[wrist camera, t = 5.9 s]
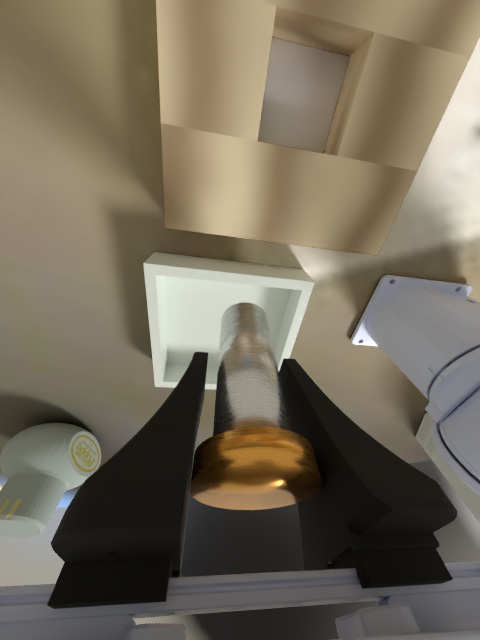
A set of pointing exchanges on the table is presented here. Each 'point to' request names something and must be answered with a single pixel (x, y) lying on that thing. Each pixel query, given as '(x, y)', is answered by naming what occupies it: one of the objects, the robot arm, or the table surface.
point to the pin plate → (347, 126)
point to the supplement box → (447, 467)
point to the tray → (215, 308)
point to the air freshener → (42, 474)
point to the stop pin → (251, 426)
